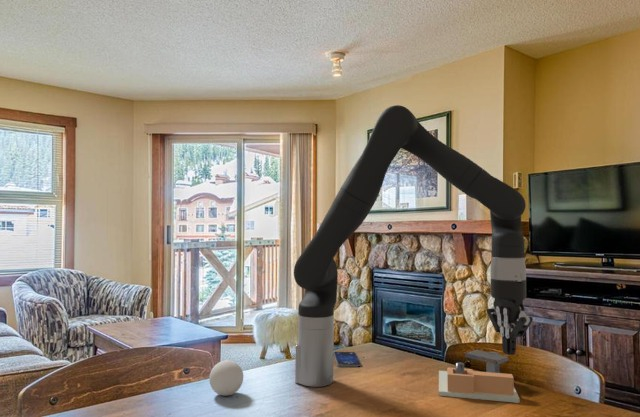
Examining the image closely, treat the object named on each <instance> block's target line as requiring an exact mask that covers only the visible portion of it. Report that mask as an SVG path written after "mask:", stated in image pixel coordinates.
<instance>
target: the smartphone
mask: <svg viewBox="0 0 640 417" xmlns="http://www.w3.org/2000/svg"><path fill="white" fill-rule="evenodd" d="M333 359H334V361H335V364H336V366H338V367H337V368H358V367H357V366H363V365H362V363H361V360H360V359H359V357H358V354H357V352H355V351H333Z"/></svg>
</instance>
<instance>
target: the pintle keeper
mask: <svg viewBox="0 0 640 417" xmlns="http://www.w3.org/2000/svg"><path fill="white" fill-rule="evenodd" d="M464 357H465V358H469V359H471V360H476V361H481V362H484V363H486V366H485V367H486V368H485V369H486V370H485V372H491V373H501V372H500V367H501V366H500V364H502V363H506V362H509V356H508V355H507V356H506V355H501V354H500V352H496V351H484V350H480V349H475V350H471V351H469V352H465V354H464ZM455 368H456V374H464V369H465V363H464V362H460V361H457V362H455Z"/></svg>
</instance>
